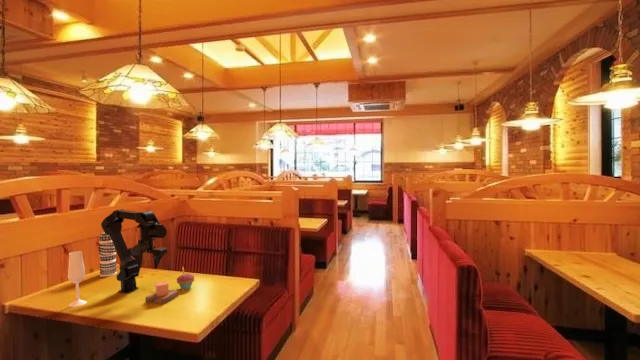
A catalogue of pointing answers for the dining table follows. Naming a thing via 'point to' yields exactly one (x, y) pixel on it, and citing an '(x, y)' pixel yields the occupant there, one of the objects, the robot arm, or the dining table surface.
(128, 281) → the robot arm
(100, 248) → the decorative candle
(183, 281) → the cupcake
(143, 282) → the dining table surface
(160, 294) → the cube
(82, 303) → the champagne flute
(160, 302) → the base
